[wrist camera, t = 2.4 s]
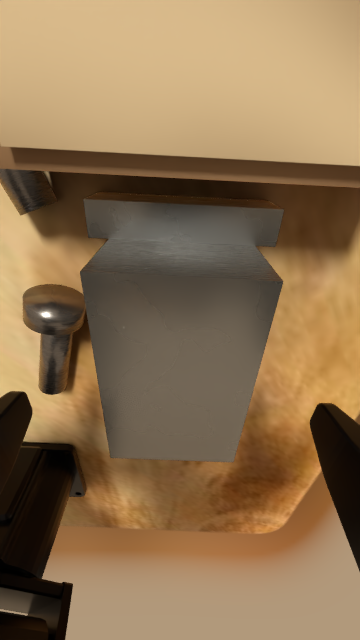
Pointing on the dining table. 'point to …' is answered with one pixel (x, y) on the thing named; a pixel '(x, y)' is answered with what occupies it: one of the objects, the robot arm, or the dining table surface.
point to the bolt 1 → (27, 189)
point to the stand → (183, 89)
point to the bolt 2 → (54, 330)
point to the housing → (178, 319)
